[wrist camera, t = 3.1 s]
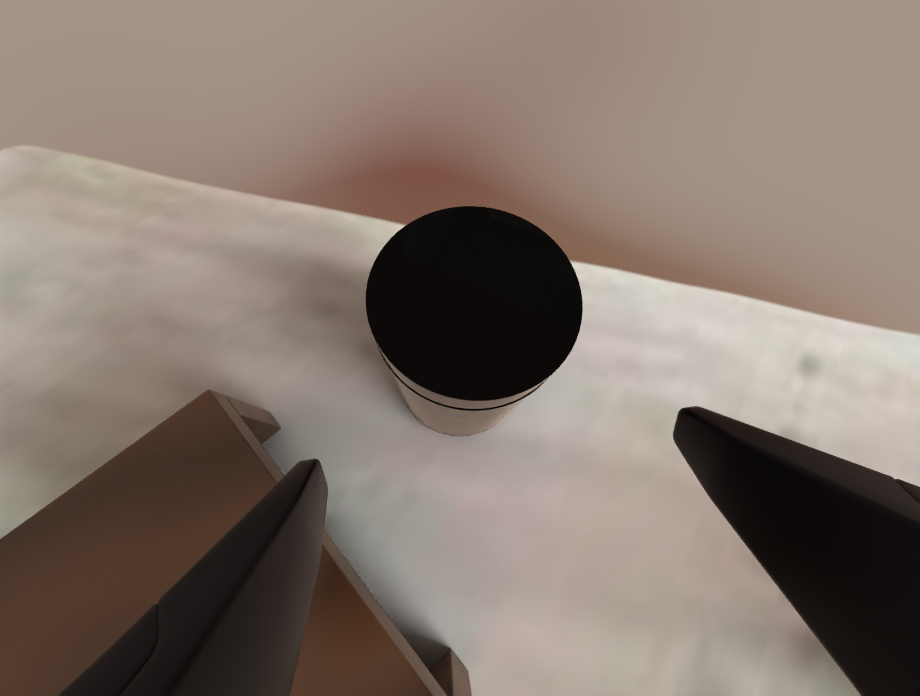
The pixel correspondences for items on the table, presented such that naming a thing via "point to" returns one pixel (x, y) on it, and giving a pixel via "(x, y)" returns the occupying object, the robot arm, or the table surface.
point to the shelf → (182, 564)
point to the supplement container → (472, 314)
